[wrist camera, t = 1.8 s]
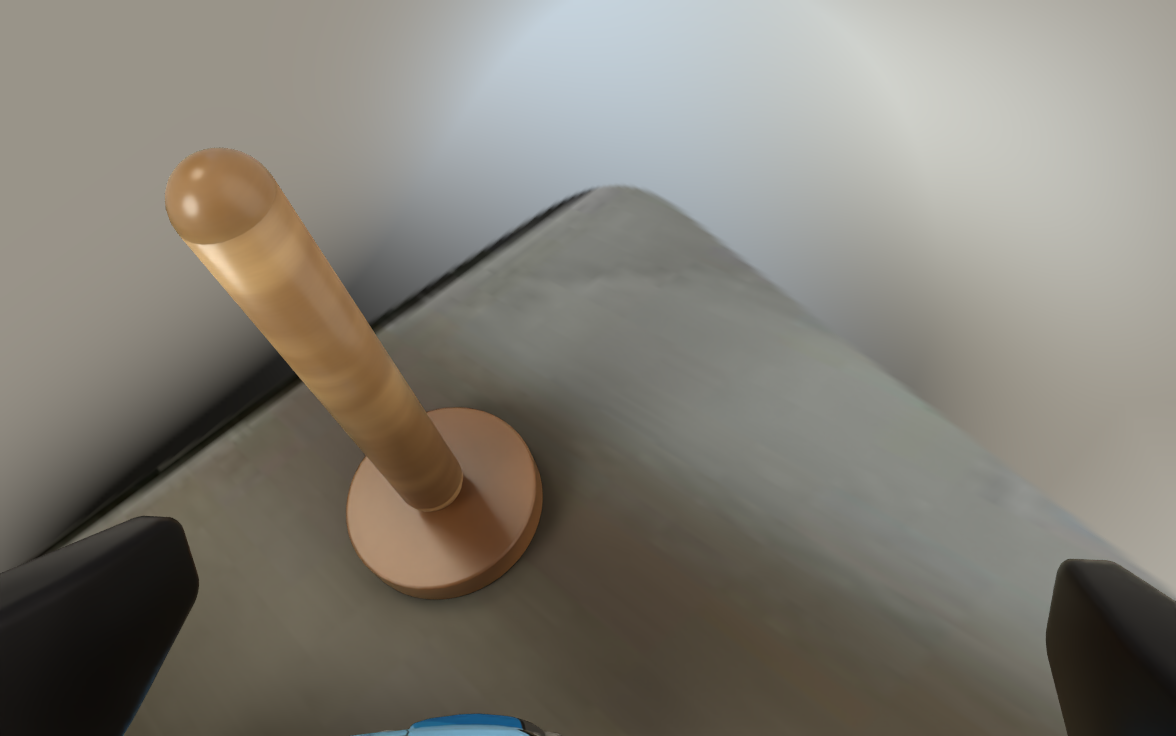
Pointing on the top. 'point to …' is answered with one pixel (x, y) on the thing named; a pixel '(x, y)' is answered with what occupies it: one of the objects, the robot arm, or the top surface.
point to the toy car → (469, 727)
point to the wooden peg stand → (363, 392)
